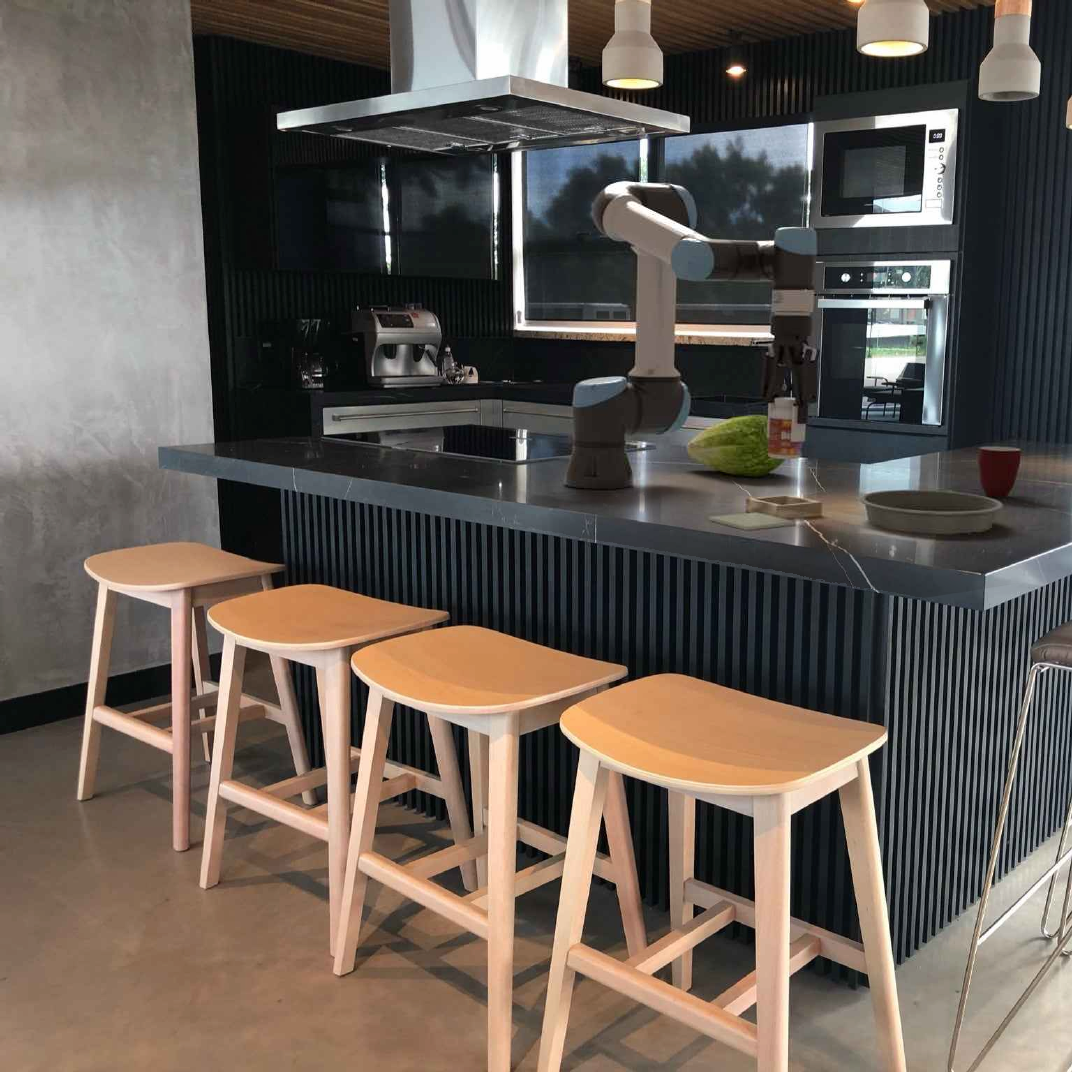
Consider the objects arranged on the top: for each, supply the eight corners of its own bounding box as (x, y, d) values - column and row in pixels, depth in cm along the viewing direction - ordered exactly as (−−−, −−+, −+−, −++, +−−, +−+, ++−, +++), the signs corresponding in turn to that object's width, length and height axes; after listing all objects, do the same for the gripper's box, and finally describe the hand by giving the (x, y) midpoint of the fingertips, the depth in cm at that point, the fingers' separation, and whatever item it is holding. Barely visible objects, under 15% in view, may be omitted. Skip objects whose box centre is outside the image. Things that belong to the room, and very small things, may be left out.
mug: (989, 491, 246) (992, 444, 245) (1027, 495, 241) (1031, 447, 239) (969, 496, 239) (972, 448, 237) (1008, 501, 233) (1012, 452, 232)
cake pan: (834, 515, 218) (835, 491, 217) (950, 510, 224) (951, 487, 223) (903, 540, 195) (905, 513, 194) (1030, 534, 200) (1033, 508, 199)
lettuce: (713, 468, 287) (704, 412, 284) (801, 465, 271) (792, 405, 268) (676, 486, 275) (666, 428, 272) (765, 484, 259) (756, 422, 256)
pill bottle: (780, 460, 213) (783, 400, 211) (761, 456, 218) (764, 397, 216) (808, 458, 215) (811, 399, 213) (788, 454, 221) (791, 396, 219)
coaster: (708, 520, 211) (709, 517, 211) (756, 515, 216) (756, 512, 216) (746, 530, 202) (746, 526, 202) (795, 524, 207) (795, 521, 207)
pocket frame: (745, 511, 221) (746, 498, 220) (786, 507, 225) (787, 494, 225) (779, 519, 212) (780, 506, 211) (821, 515, 217) (822, 502, 216)
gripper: (743, 313, 218) (737, 434, 223) (811, 315, 201) (804, 446, 206) (774, 313, 221) (768, 432, 226) (843, 315, 205) (836, 443, 210)
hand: (785, 439), depth 216 cm, fingers closed on pill bottle, 6 cm apart
